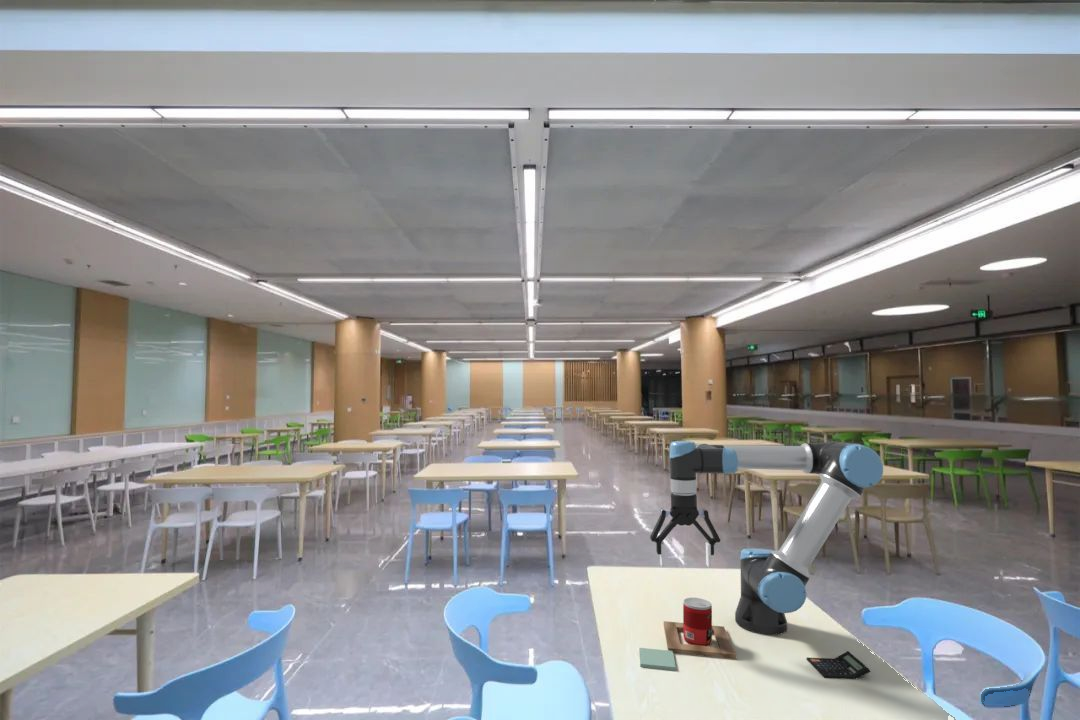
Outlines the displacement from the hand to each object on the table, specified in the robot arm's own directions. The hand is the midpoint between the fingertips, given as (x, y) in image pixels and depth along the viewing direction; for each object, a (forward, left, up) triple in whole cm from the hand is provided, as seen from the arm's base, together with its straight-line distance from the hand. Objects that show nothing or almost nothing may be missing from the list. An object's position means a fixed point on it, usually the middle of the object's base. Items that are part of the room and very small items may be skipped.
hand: (685, 565), depth 153 cm
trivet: (+9, +14, -21) cm, 27 cm away
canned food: (-3, 0, -21) cm, 21 cm away
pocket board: (-3, 0, -21) cm, 21 cm away
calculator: (-38, +9, -22) cm, 45 cm away
